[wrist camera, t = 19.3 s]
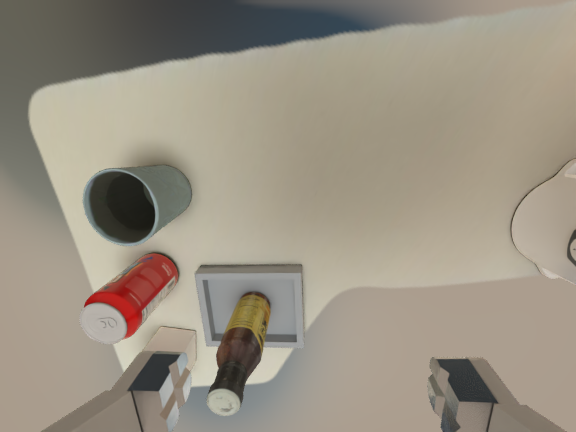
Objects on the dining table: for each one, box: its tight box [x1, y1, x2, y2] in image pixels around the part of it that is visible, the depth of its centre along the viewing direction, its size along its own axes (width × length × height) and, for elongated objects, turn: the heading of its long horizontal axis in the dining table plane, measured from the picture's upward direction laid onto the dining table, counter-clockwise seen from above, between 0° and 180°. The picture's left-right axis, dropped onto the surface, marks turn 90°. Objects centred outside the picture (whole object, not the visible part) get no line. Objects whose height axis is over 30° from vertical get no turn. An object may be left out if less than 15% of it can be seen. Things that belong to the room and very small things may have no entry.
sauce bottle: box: [207, 292, 271, 416], centre depth 42 cm, size 6×6×20 cm
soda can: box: [80, 253, 178, 344], centre depth 45 cm, size 8×8×15 cm
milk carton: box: [142, 327, 196, 371], centre depth 48 cm, size 7×7×19 cm
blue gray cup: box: [83, 165, 192, 246], centre depth 42 cm, size 10×10×12 cm
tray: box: [195, 265, 304, 348], centre depth 51 cm, size 18×15×3 cm
